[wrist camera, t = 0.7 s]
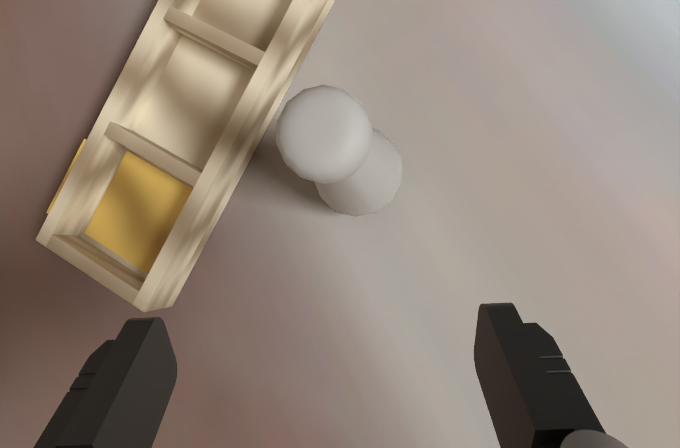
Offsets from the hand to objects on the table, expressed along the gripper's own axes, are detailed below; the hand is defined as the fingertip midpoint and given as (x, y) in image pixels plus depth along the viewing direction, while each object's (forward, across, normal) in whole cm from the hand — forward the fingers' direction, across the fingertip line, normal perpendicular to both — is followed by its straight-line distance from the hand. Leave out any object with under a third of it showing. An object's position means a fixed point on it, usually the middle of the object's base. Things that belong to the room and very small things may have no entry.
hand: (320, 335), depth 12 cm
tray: (+26, +10, +1) cm, 28 cm away
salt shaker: (+21, -2, +5) cm, 22 cm away
